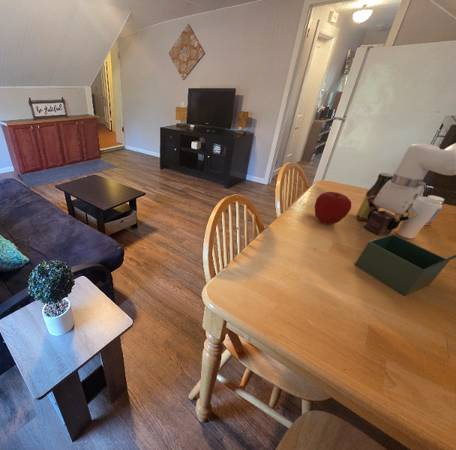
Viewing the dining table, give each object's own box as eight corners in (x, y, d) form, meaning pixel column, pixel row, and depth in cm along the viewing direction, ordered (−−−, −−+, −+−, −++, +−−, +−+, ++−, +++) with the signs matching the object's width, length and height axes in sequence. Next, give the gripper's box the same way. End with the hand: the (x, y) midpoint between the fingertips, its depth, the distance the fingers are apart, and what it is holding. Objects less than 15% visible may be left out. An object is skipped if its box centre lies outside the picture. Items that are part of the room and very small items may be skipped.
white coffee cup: (389, 229, 97) (410, 195, 89) (409, 231, 96) (432, 197, 88) (400, 239, 91) (424, 203, 83) (421, 241, 90) (447, 205, 82)
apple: (348, 229, 97) (364, 199, 90) (319, 229, 97) (332, 198, 90) (330, 214, 107) (343, 186, 100) (303, 214, 107) (314, 186, 100)
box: (390, 234, 94) (400, 217, 90) (377, 235, 93) (386, 219, 89) (376, 226, 99) (385, 210, 95) (363, 227, 98) (371, 211, 94)
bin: (429, 285, 71) (449, 260, 66) (404, 296, 68) (424, 270, 63) (378, 257, 82) (392, 234, 77) (354, 265, 79) (368, 241, 74)
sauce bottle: (367, 215, 107) (390, 171, 96) (376, 223, 101) (402, 177, 91) (351, 214, 107) (373, 171, 96) (360, 222, 102) (384, 176, 91)
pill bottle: (431, 227, 99) (449, 202, 93) (411, 223, 102) (428, 198, 96) (427, 221, 103) (444, 197, 97) (409, 217, 106) (424, 193, 100)
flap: (450, 258, 66) (452, 259, 66) (425, 268, 62) (426, 269, 62) (480, 244, 61) (482, 246, 60) (454, 255, 57) (456, 256, 57)
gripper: (443, 188, 79) (412, 234, 89) (385, 171, 93) (363, 212, 103) (430, 191, 77) (399, 238, 87) (372, 173, 91) (351, 215, 100)
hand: (380, 223), depth 94 cm, fingers closed on box, 6 cm apart
